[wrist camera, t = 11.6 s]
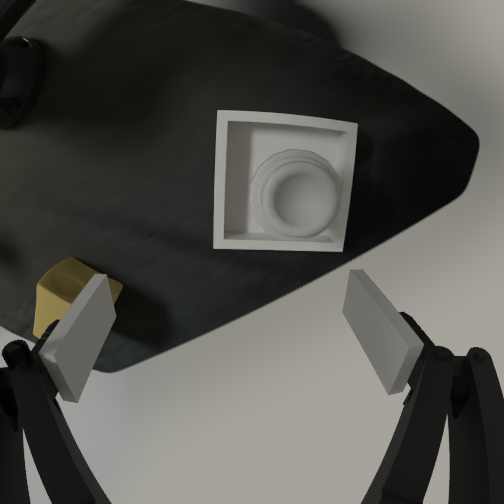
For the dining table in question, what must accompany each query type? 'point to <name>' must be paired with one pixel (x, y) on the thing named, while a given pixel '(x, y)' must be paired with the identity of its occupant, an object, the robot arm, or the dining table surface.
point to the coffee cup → (295, 195)
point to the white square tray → (258, 151)
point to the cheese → (63, 291)
